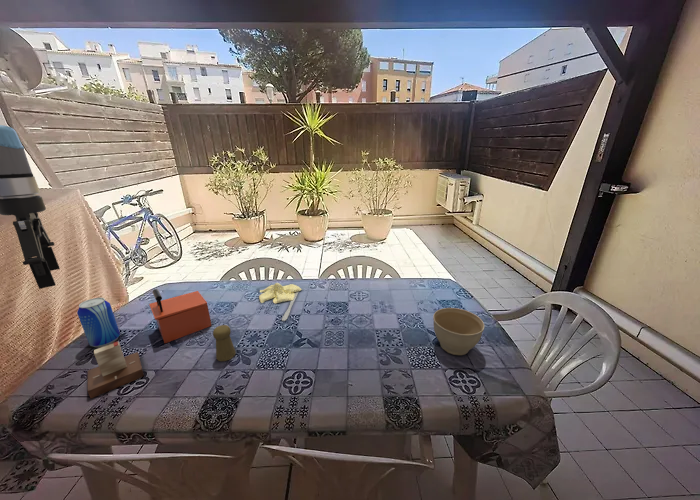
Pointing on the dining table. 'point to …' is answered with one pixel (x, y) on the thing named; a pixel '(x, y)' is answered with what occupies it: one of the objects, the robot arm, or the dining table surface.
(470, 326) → the planter bowl
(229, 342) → the cork
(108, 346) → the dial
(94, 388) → the brown flat block
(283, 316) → the butter knife
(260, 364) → the dining table surface
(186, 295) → the box lid
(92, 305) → the beer can
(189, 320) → the orange box
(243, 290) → the dining table surface
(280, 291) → the cloth
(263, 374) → the dining table surface
